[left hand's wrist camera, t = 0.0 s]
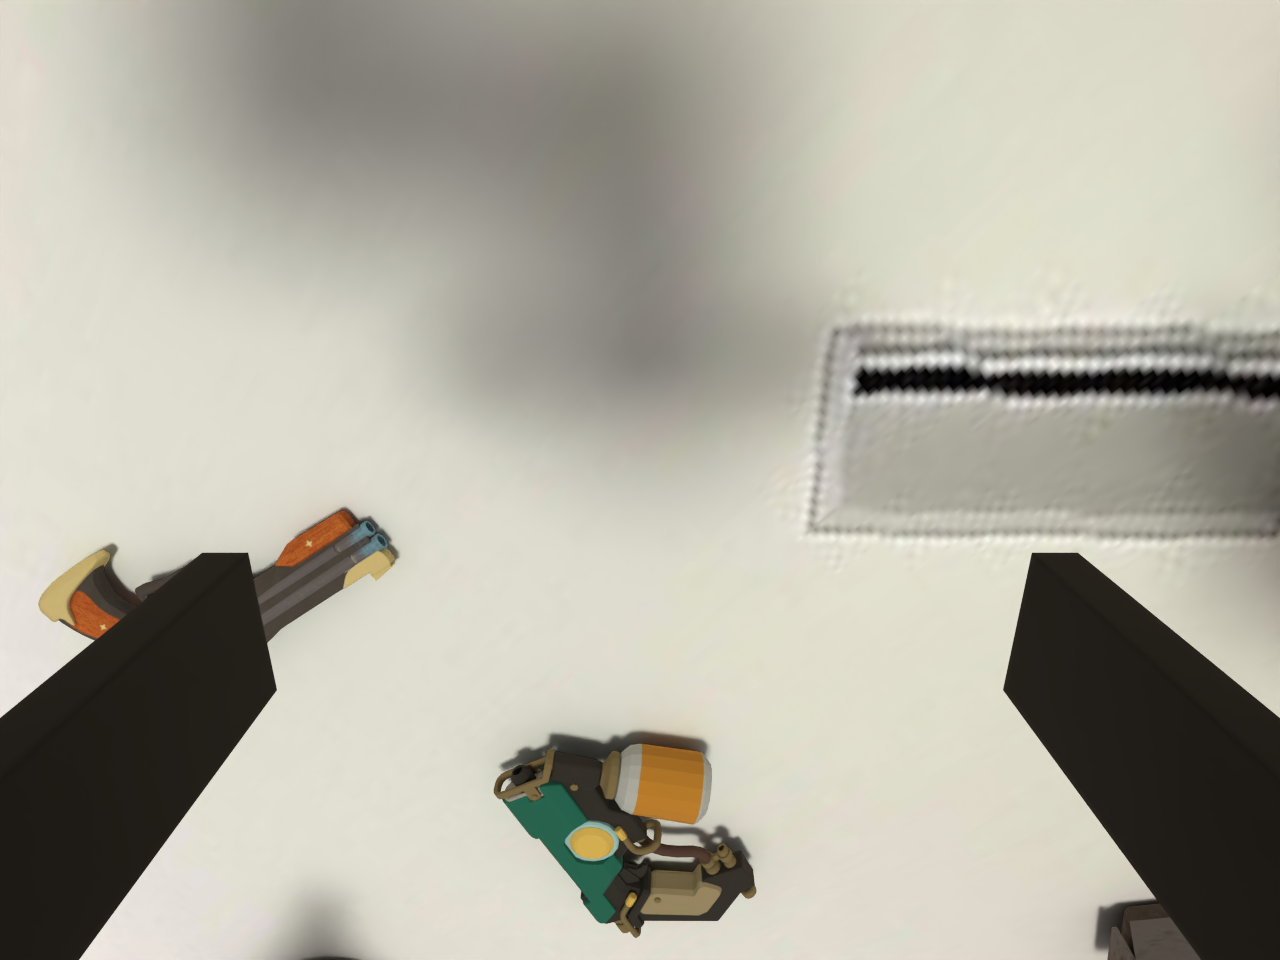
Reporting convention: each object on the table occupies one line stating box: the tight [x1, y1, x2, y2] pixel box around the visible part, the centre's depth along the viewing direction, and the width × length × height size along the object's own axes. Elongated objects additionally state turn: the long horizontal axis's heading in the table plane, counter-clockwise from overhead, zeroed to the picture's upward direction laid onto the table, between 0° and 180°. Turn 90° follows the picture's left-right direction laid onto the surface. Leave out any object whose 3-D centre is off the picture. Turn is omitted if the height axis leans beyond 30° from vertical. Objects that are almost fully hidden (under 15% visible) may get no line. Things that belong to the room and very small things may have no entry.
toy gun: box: [38, 510, 395, 642], centre depth 43 cm, size 3×19×10 cm
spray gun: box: [494, 744, 756, 938], centre depth 49 cm, size 4×17×15 cm
